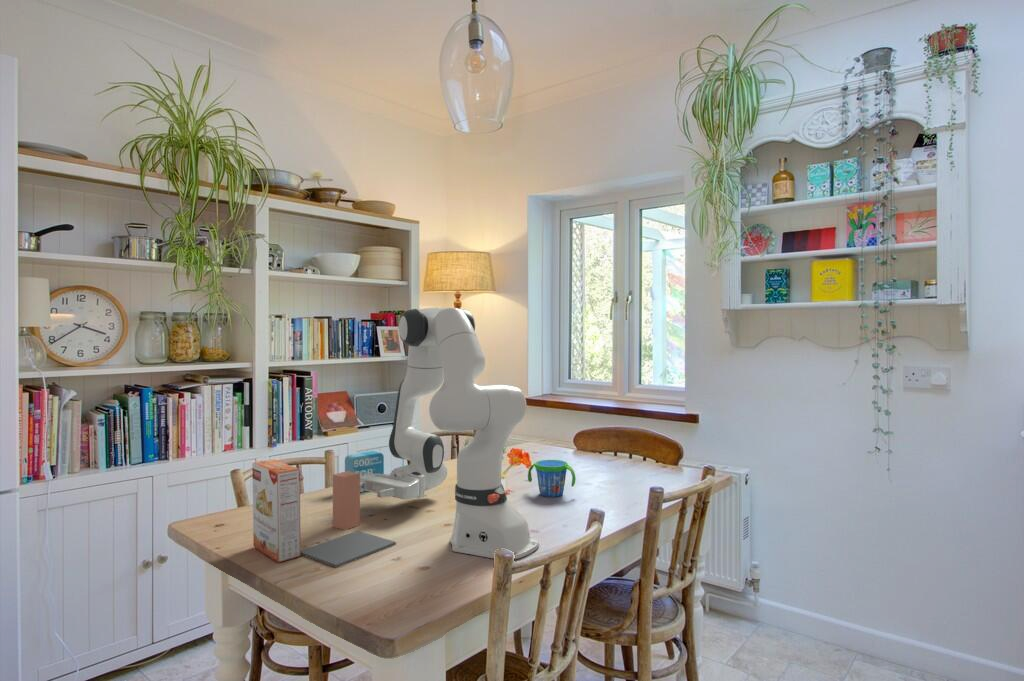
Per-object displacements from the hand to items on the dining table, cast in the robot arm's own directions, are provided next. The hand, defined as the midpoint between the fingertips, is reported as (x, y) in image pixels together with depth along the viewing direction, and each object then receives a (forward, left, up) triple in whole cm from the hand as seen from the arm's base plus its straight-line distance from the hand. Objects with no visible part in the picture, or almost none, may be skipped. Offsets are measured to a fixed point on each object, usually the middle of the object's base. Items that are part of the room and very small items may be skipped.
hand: (367, 491), depth 171 cm
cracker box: (-2, +30, -8) cm, 31 cm away
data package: (+24, -20, -8) cm, 32 cm away
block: (0, +7, -8) cm, 11 cm away
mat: (-14, +18, -8) cm, 24 cm away
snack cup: (-28, -52, -8) cm, 59 cm away
